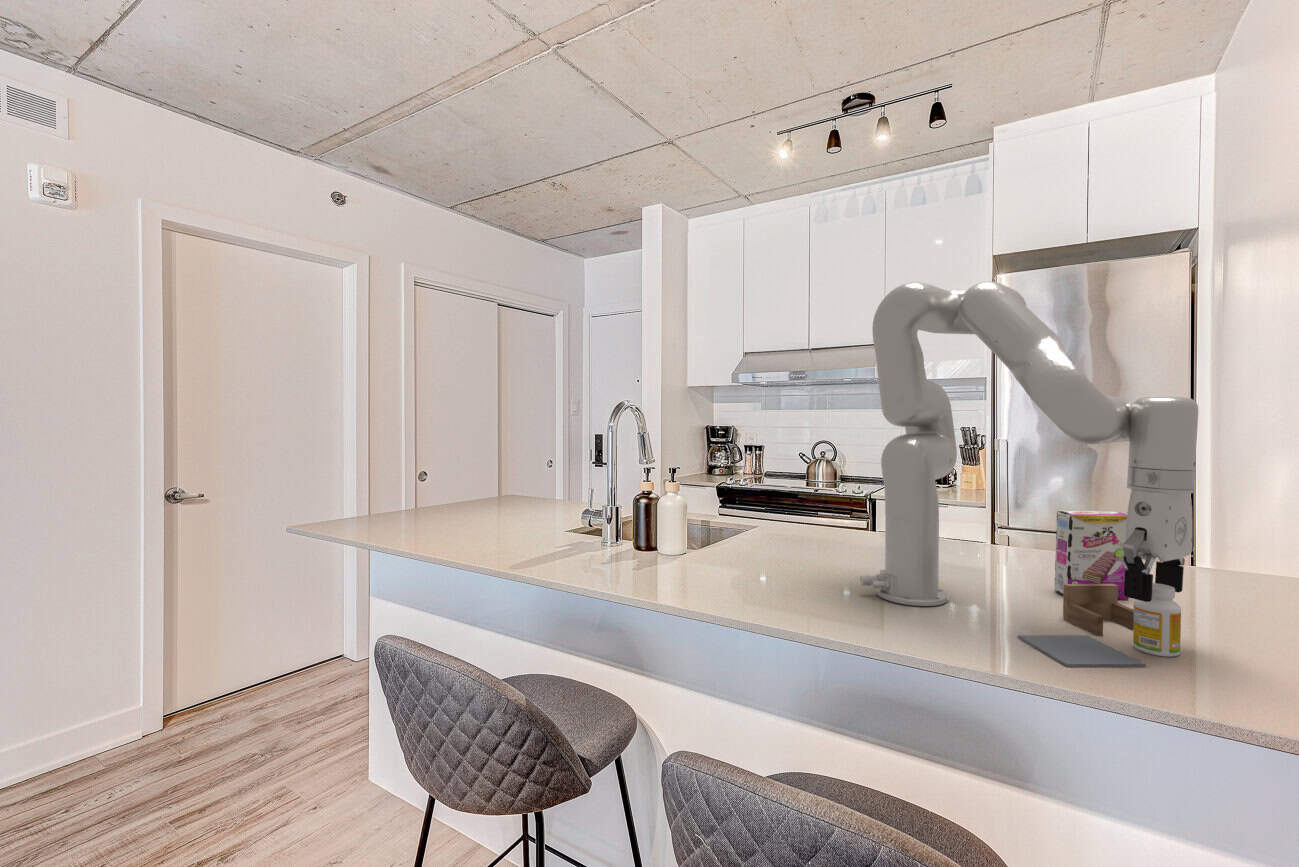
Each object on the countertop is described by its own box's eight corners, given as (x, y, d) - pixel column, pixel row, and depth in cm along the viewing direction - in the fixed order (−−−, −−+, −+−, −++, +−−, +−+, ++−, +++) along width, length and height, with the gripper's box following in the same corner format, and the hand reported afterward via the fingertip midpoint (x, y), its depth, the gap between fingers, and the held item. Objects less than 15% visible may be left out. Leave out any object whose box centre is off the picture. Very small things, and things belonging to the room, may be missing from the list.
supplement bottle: (1169, 646, 91) (1170, 582, 91) (1188, 659, 86) (1189, 592, 86) (1126, 642, 93) (1127, 579, 92) (1142, 655, 88) (1143, 589, 87)
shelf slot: (1096, 635, 96) (1097, 597, 95) (1063, 618, 103) (1063, 584, 103) (1150, 634, 96) (1151, 597, 95) (1112, 618, 103) (1113, 583, 103)
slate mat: (1066, 667, 84) (1066, 664, 84) (1017, 637, 95) (1018, 635, 95) (1145, 666, 84) (1145, 663, 84) (1087, 637, 95) (1087, 635, 95)
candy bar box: (1068, 599, 114) (1069, 513, 114) (1053, 591, 119) (1054, 509, 119) (1131, 601, 113) (1133, 514, 113) (1113, 593, 118) (1115, 510, 118)
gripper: (1164, 486, 81) (1156, 611, 82) (1217, 480, 89) (1210, 593, 90) (1100, 480, 88) (1094, 595, 89) (1156, 475, 96) (1150, 580, 97)
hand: (1153, 594), depth 89 cm, fingers open, 9 cm apart
